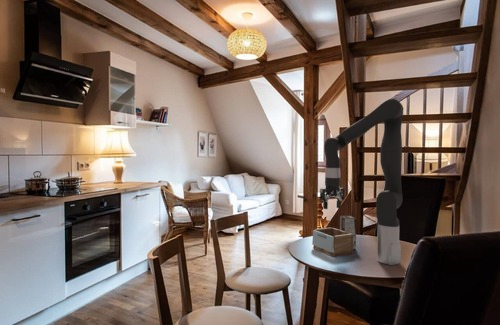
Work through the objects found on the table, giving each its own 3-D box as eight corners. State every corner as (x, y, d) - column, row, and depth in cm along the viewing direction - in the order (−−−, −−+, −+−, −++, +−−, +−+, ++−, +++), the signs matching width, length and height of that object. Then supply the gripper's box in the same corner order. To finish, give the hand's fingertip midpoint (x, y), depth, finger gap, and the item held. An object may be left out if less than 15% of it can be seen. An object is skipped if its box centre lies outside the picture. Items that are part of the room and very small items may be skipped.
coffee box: (356, 249, 166) (357, 218, 166) (343, 249, 166) (344, 218, 166) (351, 244, 175) (351, 215, 175) (339, 244, 175) (340, 215, 175)
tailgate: (332, 252, 153) (333, 236, 153) (330, 252, 152) (331, 237, 152) (313, 244, 166) (314, 230, 166) (310, 244, 166) (312, 230, 166)
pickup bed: (352, 254, 158) (353, 234, 158) (333, 257, 153) (334, 236, 152) (331, 245, 172) (331, 227, 172) (313, 248, 167) (313, 229, 167)
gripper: (326, 177, 155) (325, 210, 155) (348, 177, 161) (348, 208, 161) (316, 176, 162) (316, 208, 162) (338, 176, 168) (338, 206, 168)
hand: (332, 208), depth 162 cm, fingers open, 8 cm apart
